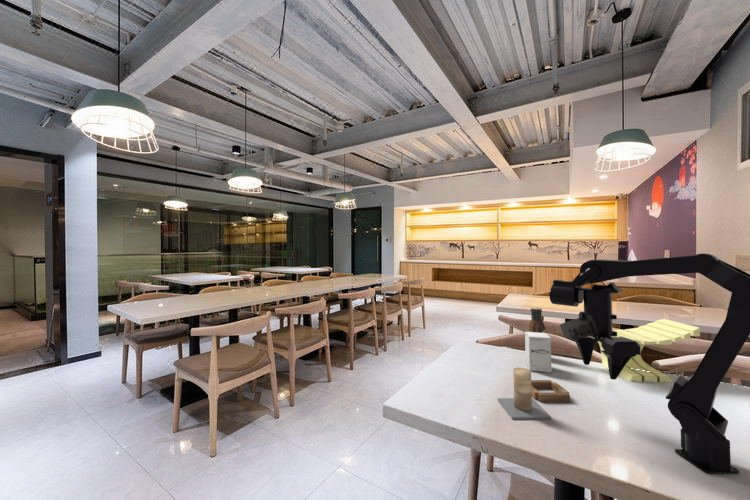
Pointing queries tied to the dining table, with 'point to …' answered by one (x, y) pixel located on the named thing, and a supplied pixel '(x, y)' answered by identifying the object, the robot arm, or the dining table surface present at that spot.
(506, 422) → the dining table surface
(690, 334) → the slatted curved stool
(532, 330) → the sauce bottle
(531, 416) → the slate pad
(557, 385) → the walnut frame
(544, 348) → the supplement box
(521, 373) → the oak peg
